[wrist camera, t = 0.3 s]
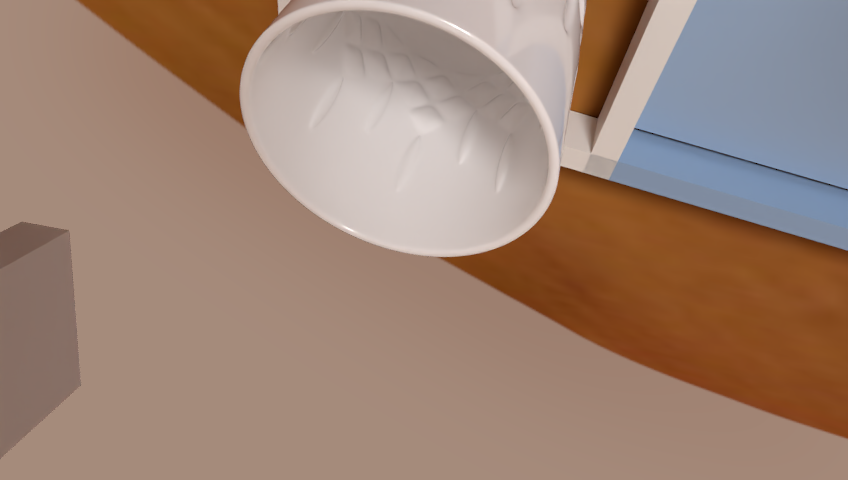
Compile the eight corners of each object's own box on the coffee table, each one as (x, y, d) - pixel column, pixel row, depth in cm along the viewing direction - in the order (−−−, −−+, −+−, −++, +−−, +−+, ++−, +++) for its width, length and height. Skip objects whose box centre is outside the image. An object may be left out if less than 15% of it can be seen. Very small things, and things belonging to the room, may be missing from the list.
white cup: (600, -216, 19) (529, -19, 13) (620, 41, 24) (577, 265, 18) (338, -163, 22) (179, 17, 16) (409, 56, 27) (311, 252, 21)
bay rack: (293, -354, 18) (261, -335, 17) (1308, -106, 16) (1353, -65, 15) (301, 53, 29) (281, 83, 27) (924, 234, 27) (933, 275, 25)
